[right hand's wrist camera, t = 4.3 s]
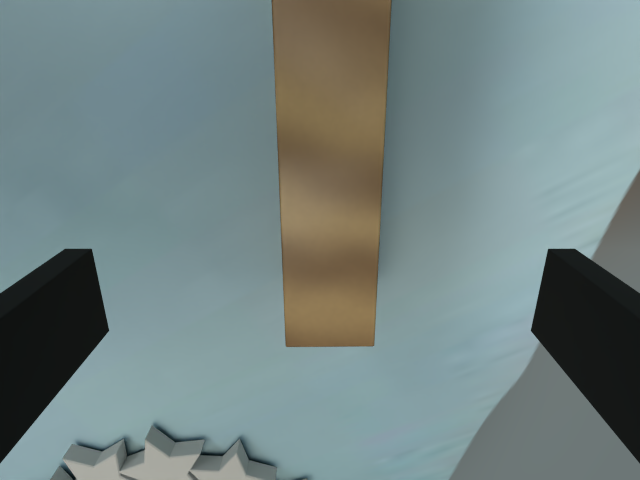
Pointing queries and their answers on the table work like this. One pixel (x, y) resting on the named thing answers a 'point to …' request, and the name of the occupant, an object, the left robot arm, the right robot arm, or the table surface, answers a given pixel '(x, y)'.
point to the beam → (330, 164)
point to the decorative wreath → (162, 462)
